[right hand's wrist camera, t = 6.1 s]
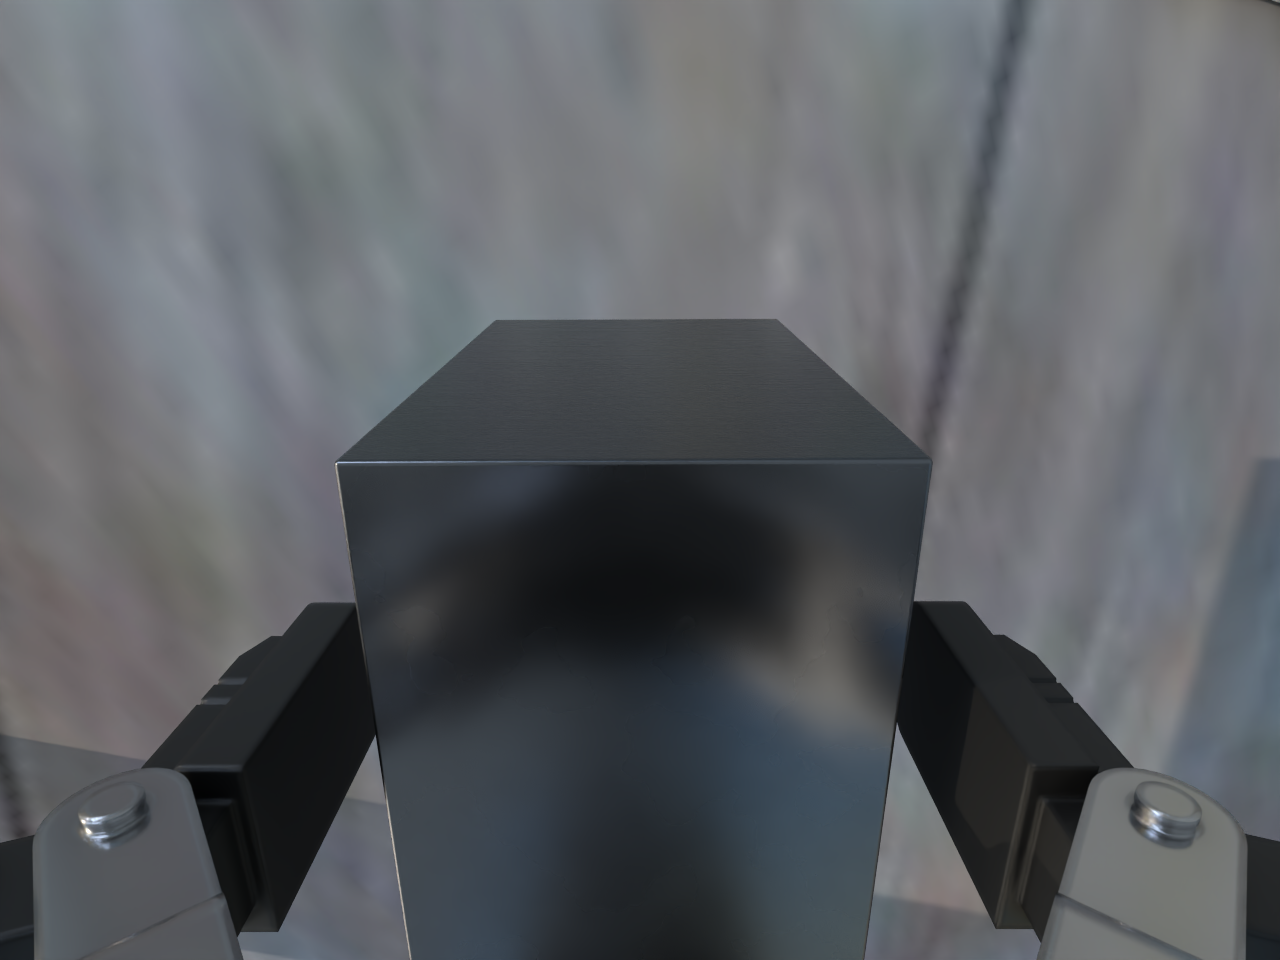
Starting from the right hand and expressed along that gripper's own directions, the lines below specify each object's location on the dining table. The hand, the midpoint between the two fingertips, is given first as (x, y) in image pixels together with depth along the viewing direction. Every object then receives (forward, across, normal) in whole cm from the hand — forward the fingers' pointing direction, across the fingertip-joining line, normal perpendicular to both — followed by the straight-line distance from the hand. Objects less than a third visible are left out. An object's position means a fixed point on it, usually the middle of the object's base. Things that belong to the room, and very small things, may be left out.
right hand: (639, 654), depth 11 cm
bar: (+7, 0, -8) cm, 10 cm away
